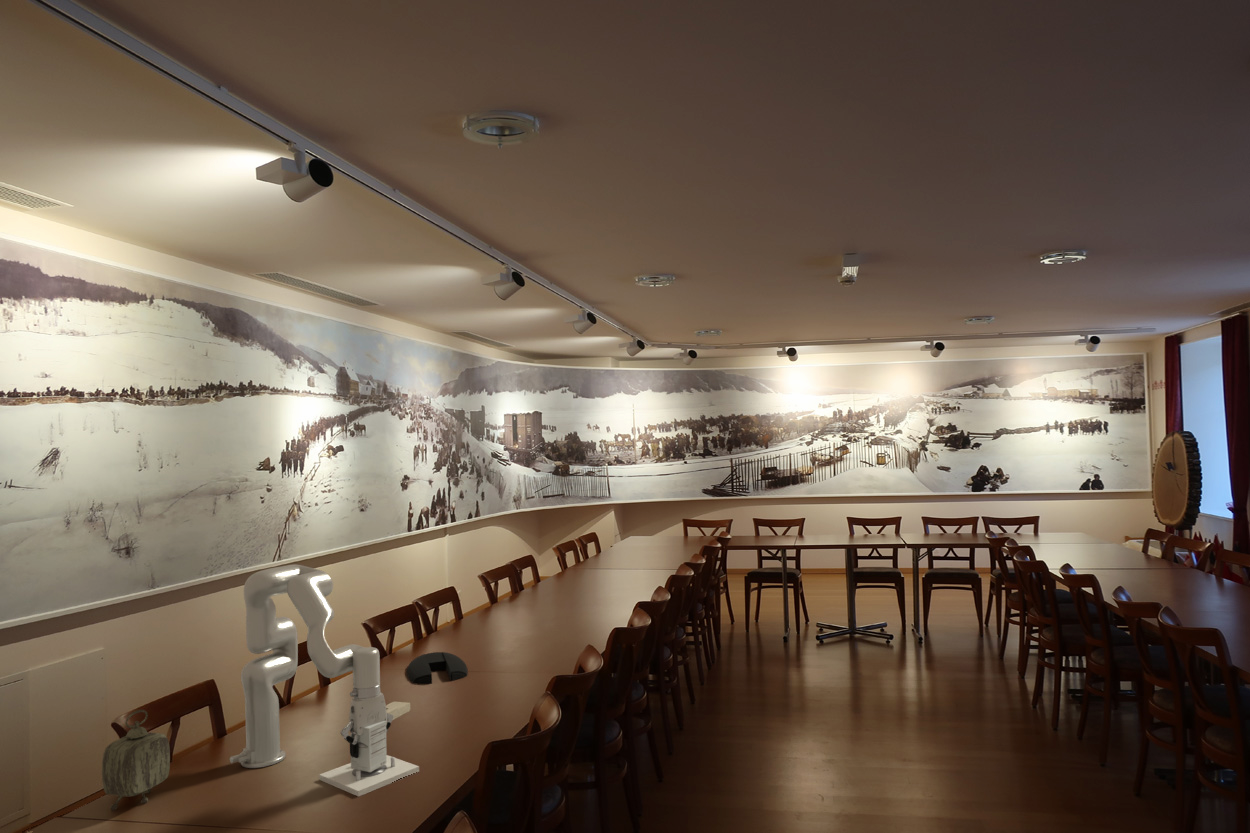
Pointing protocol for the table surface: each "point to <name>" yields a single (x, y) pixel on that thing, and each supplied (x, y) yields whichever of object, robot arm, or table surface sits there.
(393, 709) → the electrical outlet
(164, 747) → the tabletop clock
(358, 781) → the locating plate
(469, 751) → the table surface
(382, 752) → the supplement box
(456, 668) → the docking station
